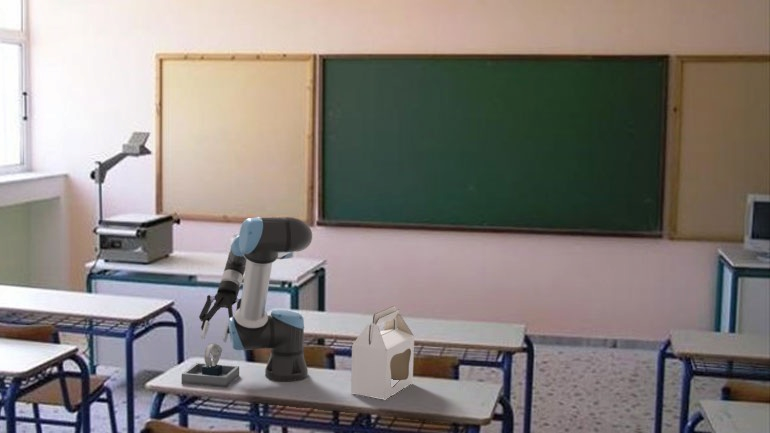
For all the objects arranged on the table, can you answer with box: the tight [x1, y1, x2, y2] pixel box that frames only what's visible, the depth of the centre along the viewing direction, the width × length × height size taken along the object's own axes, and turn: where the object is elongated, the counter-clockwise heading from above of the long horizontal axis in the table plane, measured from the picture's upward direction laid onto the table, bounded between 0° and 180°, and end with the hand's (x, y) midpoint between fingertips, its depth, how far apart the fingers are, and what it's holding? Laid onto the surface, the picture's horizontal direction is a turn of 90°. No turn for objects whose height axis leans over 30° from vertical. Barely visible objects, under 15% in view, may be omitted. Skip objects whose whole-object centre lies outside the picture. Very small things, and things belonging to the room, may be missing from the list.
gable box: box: [350, 305, 415, 399], centre depth 323 cm, size 22×13×28 cm, turn 154°
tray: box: [181, 362, 240, 388], centre depth 329 cm, size 16×14×4 cm
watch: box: [202, 342, 223, 376], centre depth 332 cm, size 6×8×11 cm
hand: (213, 339), depth 333 cm, fingers open, 7 cm apart
